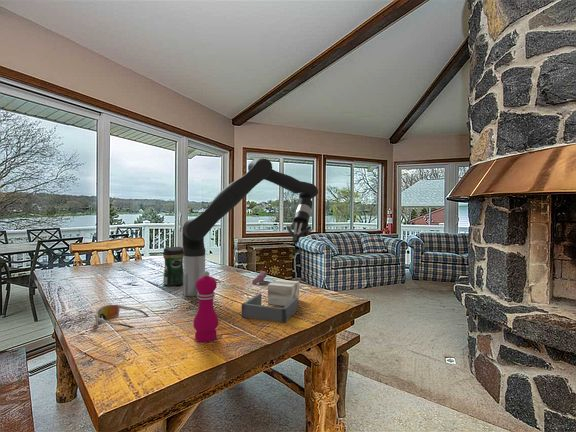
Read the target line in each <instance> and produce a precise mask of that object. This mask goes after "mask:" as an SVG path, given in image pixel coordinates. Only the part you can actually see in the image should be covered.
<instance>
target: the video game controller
mask: <svg viewBox="0 0 576 432" xmlns="http://www.w3.org/2000/svg"><path fill="white" fill-rule="evenodd" d="M267 274H268V272H267V271H264V270H263V271H259V274H257V276H256V277H255V278H254V279H252V282H251V283H252V284H253V285H257V284H262V283H263V282H264V281H265V278H266V277H267Z"/></svg>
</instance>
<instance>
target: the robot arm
mask: <svg viewBox="0 0 576 432" xmlns="http://www.w3.org/2000/svg"><path fill="white" fill-rule="evenodd" d="M247 169H248V170H247V172H246V173H245V174H244V175H242V176H241V177H238V178H237V179H236V180H234V181H232V182H231V183H229V184H228V185H226V186H225V187H224V188H223V189H222V190H221V191H219V193H218V194H217V195H216V196H215V197H214V198H213V200H212V201H211V202H210V204H209V206H208V207H207V208H206V209H205V210H203V211H202V212H201V214H199V215H198V216H197V217H194V218H191V219H187V220H186V221H185V223H183V226H182V248H183V251H184V257H183V284H182V294H183V296H184V297H198V295H197V294H198V293H199V292H198V291H197V289H196V282H197V280H198V279H199V278H201V277H203V273H204V272H205V271H206V247H205V236H206V235H207V234H208V233H209V232H210V230H211V229H212V228H213V227H215V225H216V223H218V222H219V221H220V219H222V218H224V216H226V215H227V214H228V213H229V212H230V211H232V210H233V209H234V208H235V207H236V206H237V205H238V204H239V203H240V202H241V201H242V199H244V198H245V197H246V196H247V195H248V194H249V193H250V192H251V191H252V190H253V189H254V188H255V187H256V186H257V185H258V184H260V183H261V182H262V181H264V180H265V181H267V182H270V183H272V184H274V185H277V186H279V187H281V188H283V189H285V190H286V191H288V192H291V193H293V194H298V205H297V208H296V210H295V213H294V217H293V220H292V223H291V224H290V225H286V230H287V232H288V233H289V234H290V236H291V237H292V243H293V244H294V245H297V244H298V243H299V242H300V238H304V237H306V236H307V235H308V234H310V233H311V232H312V231H313V230H312V226H311V225H310V226H309V222H310V217H311V212H312V211H311V210H312V208H313V201H312V199H314V198H316V197H317V196H318V194H319V189H318V187H317V186H316V185H315V184H313V183H310V182H307V181H301V180H299V179H296V178H295V177H293V176H291V175H288V174H286V173H282V172H280V171H278V170H277V171H276V170H275V169H273V163H272V162H271V161H270V160H269V159H268V158H262V157H261V158H255V159H252V160H251V161H250V162H249V163H248V166H247Z"/></svg>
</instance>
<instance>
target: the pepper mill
mask: <svg viewBox="0 0 576 432" xmlns="http://www.w3.org/2000/svg"><path fill="white" fill-rule="evenodd" d="M217 285H218V284H217V281H216V278H214V277H213V276H210V272H209V270H205V272H204V273H203V277H201V278H199V279H198V280H197V282H196V289H197V291H198V292H199V293H198V294H197V295H198V296H196V297H197V299H198V302H199V304H198V310H197V312H196V314H195V316H194V318H193V328H194V330H195V333H194V338H195V341H196V342H199V343H208V342H213V341H214V340H216V339H217V335H218V332H217V329H218V326H219V318H218V315H217V312H216V310H215V308H214V298H215V290H216V289H217Z"/></svg>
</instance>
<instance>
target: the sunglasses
mask: <svg viewBox="0 0 576 432" xmlns="http://www.w3.org/2000/svg"><path fill="white" fill-rule="evenodd" d="M120 309H121V310H122V309H123V310H133V311H135V312H138V313H139V312H140V313H141V314H143V315H145V316H146V317H148V318H149V317H150V315H149V314H147V313H146V312H145V311H143V310H142V309H139V308H135V307H131V306H125V305H120V304H118V303H117V304H112V303H108V304H104V305H101V306H100V307H98V308H97V309H96V311H95V324H96V328H99V327H100V325H99V323H101V324H102V323H105V324H110V325H114V326H121V327H125V328H130V329H131V328H132V329H133V328H135V325H130V324H126V323H120V322H113V321H108V320H106V319H109V318H113V317H117V316H119V315H120Z"/></svg>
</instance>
